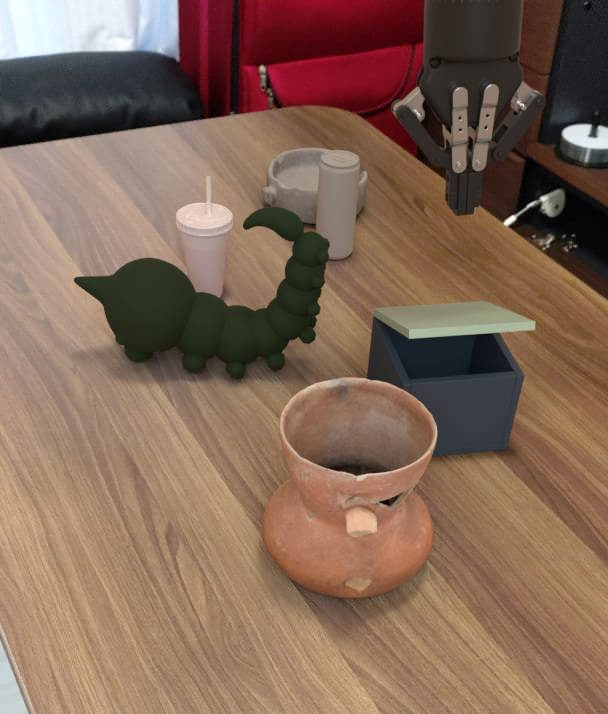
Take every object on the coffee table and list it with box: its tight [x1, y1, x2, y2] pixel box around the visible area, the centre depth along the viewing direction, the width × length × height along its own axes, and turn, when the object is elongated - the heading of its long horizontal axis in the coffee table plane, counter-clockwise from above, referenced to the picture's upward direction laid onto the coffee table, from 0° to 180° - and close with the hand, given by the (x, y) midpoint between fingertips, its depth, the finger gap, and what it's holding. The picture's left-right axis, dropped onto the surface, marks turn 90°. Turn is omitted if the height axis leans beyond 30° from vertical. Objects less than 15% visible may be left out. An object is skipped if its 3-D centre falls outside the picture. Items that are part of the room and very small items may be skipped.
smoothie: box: [175, 175, 234, 299], centre depth 109 cm, size 6×6×14 cm
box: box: [366, 316, 526, 457], centre depth 96 cm, size 12×12×9 cm
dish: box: [261, 147, 369, 225], centre depth 130 cm, size 14×14×5 cm
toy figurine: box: [73, 206, 330, 379], centre depth 98 cm, size 9×19×25 cm
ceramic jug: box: [261, 376, 437, 599], centre depth 80 cm, size 18×14×14 cm
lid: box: [373, 300, 536, 339], centre depth 91 cm, size 12×12×1 cm
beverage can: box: [315, 149, 361, 261], centre depth 118 cm, size 5×5×12 cm
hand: (462, 212), depth 85 cm, fingers closed
